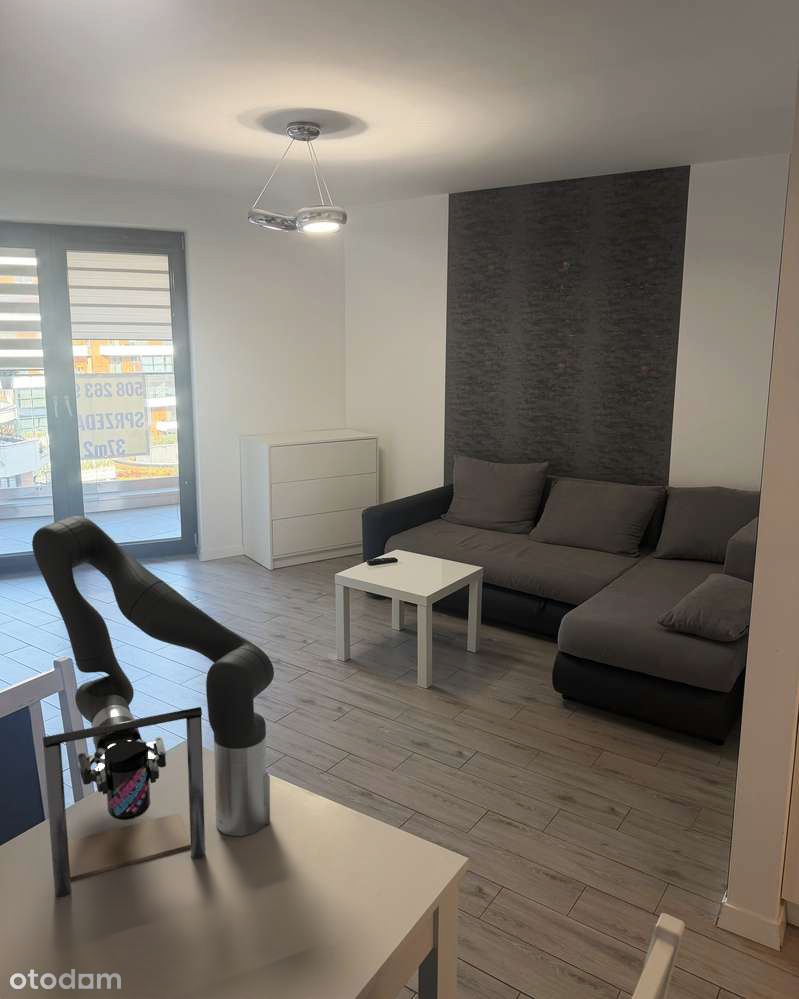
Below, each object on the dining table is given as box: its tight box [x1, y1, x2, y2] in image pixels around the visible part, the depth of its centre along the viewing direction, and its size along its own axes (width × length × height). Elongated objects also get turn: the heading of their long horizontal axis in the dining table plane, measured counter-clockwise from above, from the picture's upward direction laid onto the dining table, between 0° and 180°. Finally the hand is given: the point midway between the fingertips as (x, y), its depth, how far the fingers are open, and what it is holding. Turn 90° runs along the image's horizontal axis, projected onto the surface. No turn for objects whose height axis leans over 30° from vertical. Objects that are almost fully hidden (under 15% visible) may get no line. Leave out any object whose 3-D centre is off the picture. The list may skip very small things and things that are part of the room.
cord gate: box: [42, 706, 206, 899], centre depth 122 cm, size 24×2×27 cm, turn 117°
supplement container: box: [104, 741, 152, 821], centre depth 122 cm, size 7×7×10 cm
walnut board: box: [68, 812, 191, 881], centre depth 132 cm, size 20×10×1 cm, turn 117°
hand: (129, 783), depth 120 cm, fingers closed on supplement container, 6 cm apart
